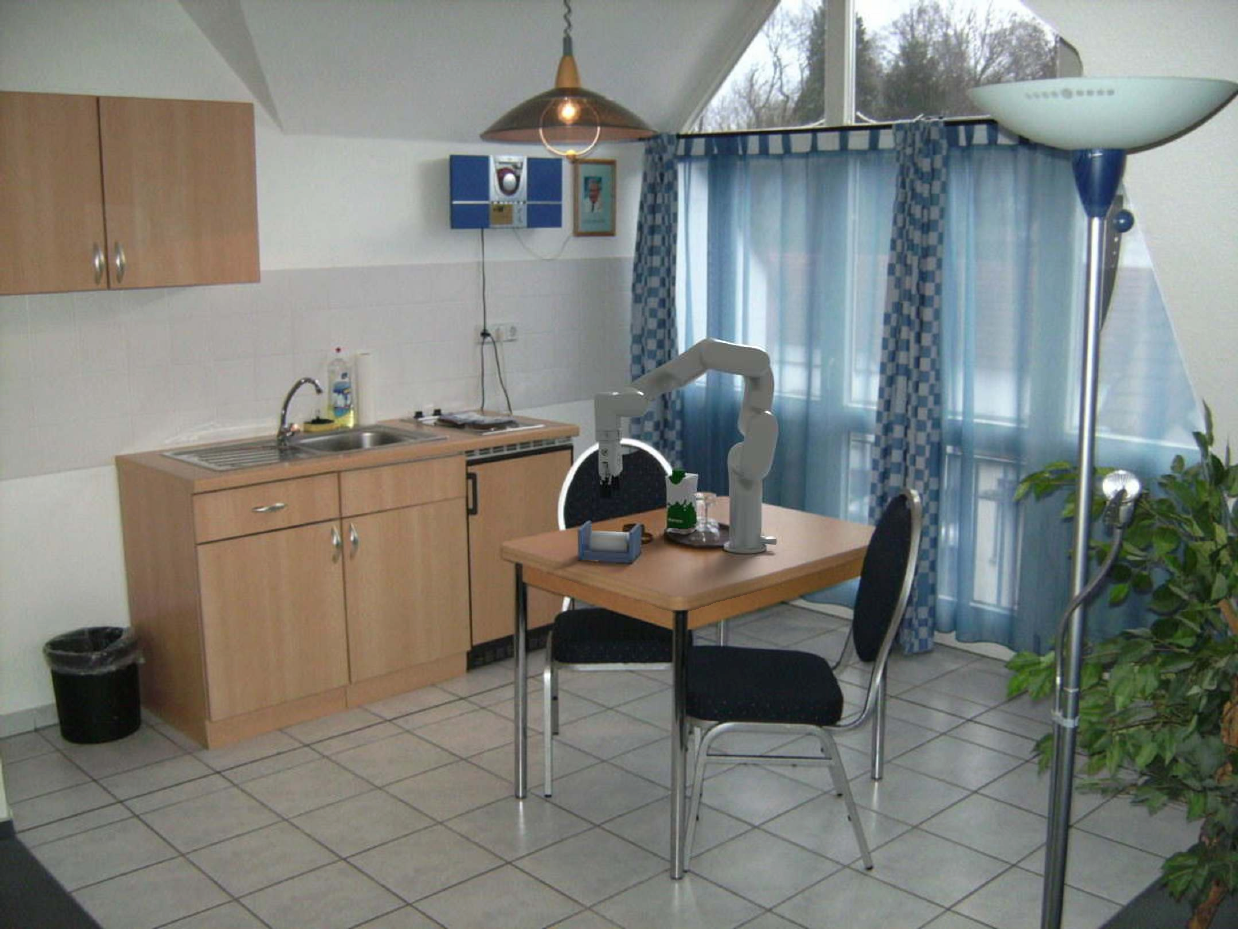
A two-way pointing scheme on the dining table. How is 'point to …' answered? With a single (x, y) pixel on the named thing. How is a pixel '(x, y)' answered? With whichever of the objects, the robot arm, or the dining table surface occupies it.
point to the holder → (629, 557)
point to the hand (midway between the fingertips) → (610, 494)
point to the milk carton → (681, 499)
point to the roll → (609, 541)
